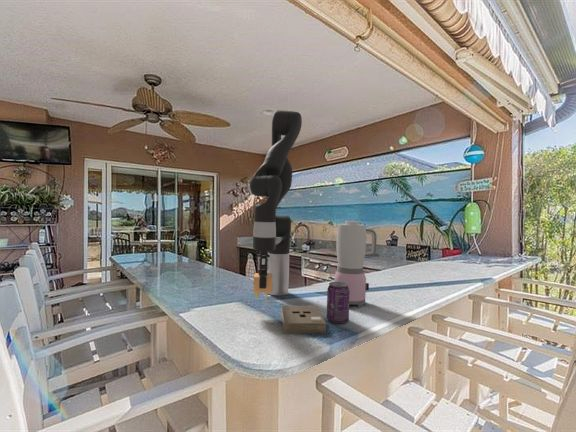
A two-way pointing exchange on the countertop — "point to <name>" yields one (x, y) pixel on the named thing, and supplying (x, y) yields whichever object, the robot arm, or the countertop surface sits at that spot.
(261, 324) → the countertop surface
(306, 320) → the socket plate
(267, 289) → the plug
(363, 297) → the blender
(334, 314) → the beverage can
